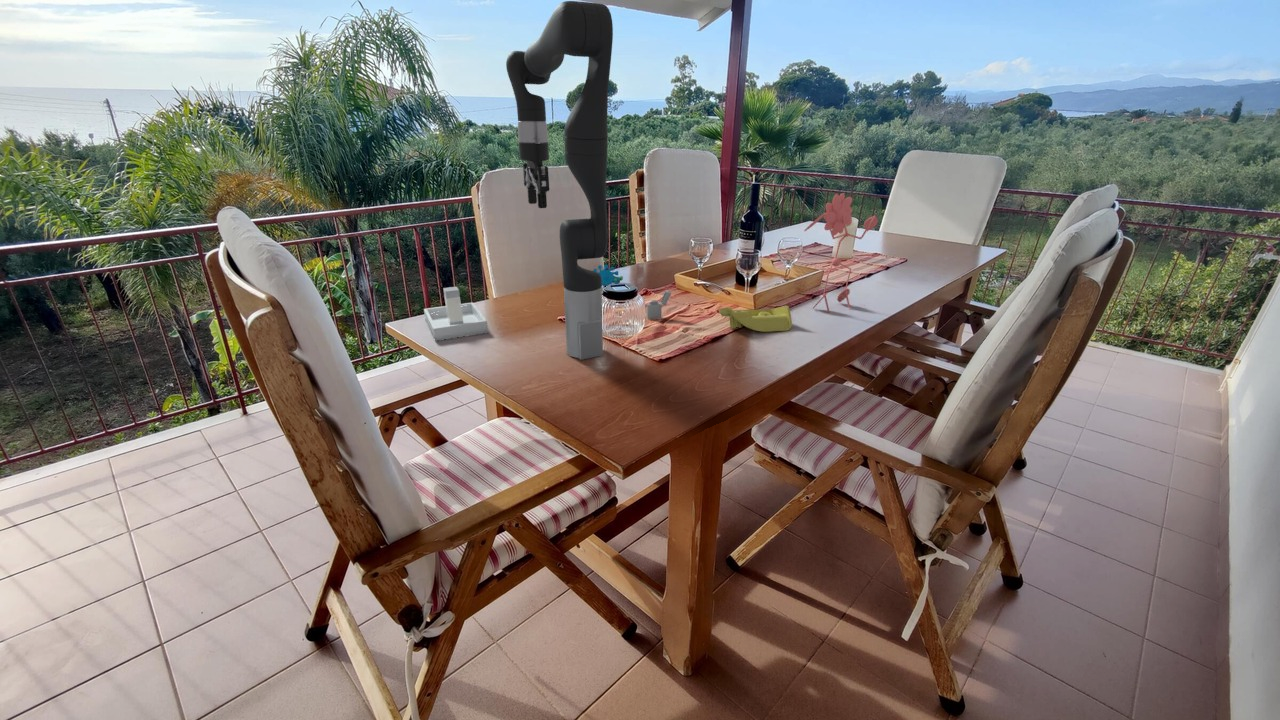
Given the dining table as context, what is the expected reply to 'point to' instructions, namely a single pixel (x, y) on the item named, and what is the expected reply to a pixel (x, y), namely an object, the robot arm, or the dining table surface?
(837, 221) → the pink flower stick figure
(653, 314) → the lighter
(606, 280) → the blue irregular piece
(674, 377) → the dining table surface
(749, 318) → the plastic component
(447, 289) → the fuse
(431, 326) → the parts tray
